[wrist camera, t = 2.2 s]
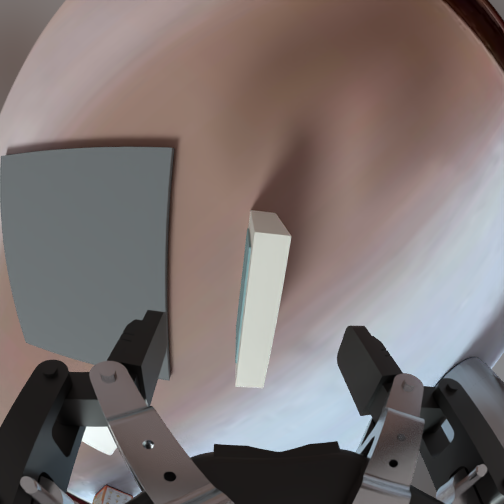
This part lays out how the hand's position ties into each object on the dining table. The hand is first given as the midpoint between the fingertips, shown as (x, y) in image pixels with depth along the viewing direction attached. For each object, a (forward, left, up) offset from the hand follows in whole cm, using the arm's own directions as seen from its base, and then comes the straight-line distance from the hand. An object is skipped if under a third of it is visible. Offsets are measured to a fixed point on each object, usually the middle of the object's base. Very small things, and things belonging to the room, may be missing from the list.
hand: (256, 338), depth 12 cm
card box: (0, 0, -8) cm, 8 cm away
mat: (+14, +1, -8) cm, 16 cm away
